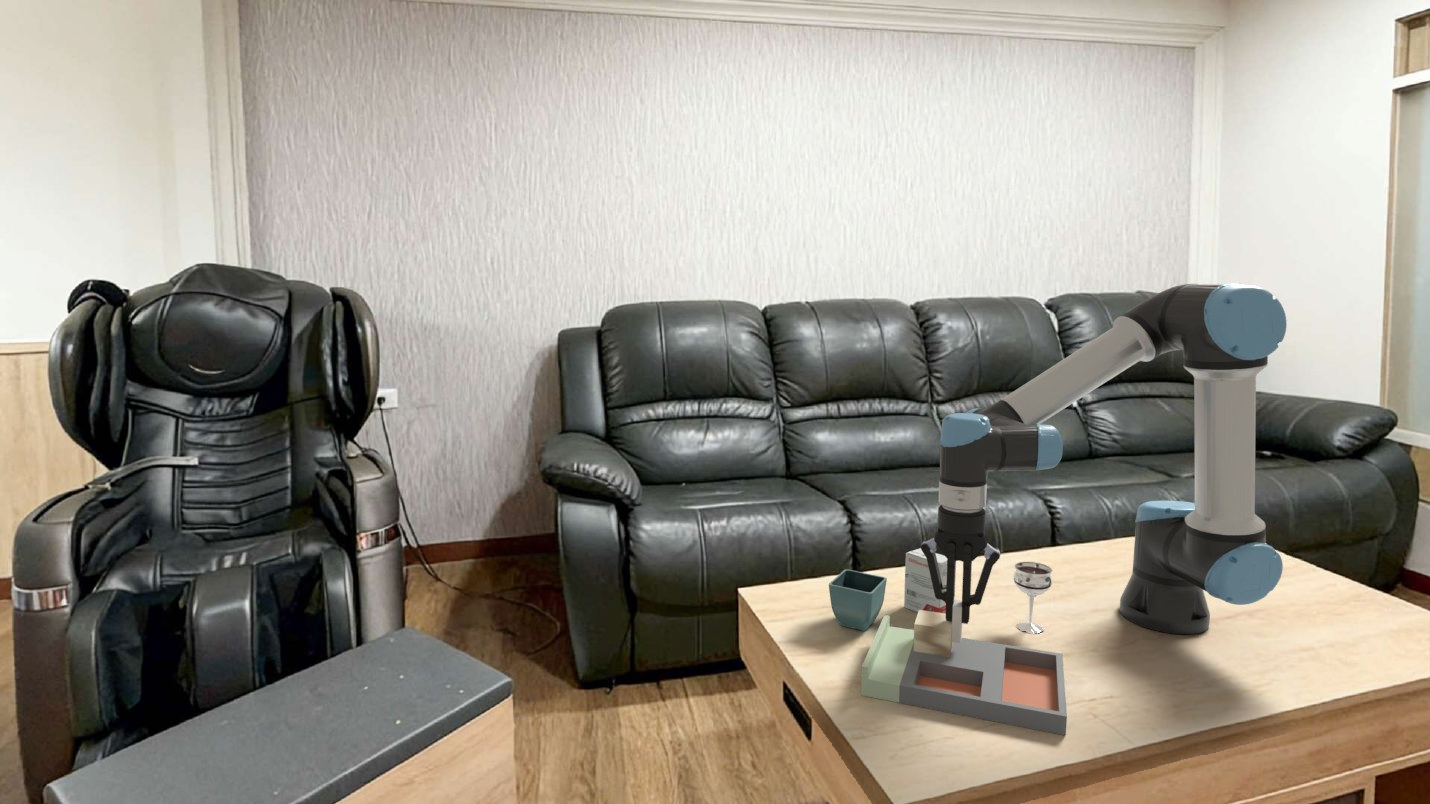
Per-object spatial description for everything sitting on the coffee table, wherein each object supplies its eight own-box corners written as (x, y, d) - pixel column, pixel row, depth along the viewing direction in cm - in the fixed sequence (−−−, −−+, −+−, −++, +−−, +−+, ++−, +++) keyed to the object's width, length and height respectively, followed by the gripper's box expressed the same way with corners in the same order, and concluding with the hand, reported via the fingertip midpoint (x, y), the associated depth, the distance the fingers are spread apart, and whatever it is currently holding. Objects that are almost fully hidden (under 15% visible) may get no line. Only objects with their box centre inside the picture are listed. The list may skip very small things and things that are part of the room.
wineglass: (1054, 627, 145) (1058, 567, 143) (1041, 639, 140) (1045, 578, 138) (1018, 616, 149) (1021, 558, 147) (1005, 628, 144) (1008, 569, 142)
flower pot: (870, 638, 141) (871, 593, 140) (827, 628, 146) (827, 583, 144) (886, 620, 148) (887, 577, 147) (844, 610, 153) (845, 568, 152)
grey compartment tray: (1061, 670, 129) (1063, 642, 128) (1065, 735, 111) (1067, 704, 110) (883, 640, 140) (884, 615, 139) (861, 695, 122) (861, 666, 121)
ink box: (953, 614, 151) (955, 557, 149) (939, 621, 148) (941, 563, 146) (917, 600, 157) (919, 546, 155) (903, 607, 154) (904, 552, 152)
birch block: (953, 641, 133) (954, 614, 132) (949, 657, 128) (950, 629, 127) (918, 636, 135) (919, 609, 135) (913, 651, 130) (914, 624, 129)
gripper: (918, 508, 125) (914, 642, 129) (1002, 517, 120) (996, 656, 124) (924, 496, 132) (920, 624, 136) (1004, 504, 127) (997, 636, 131)
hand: (956, 639), depth 130 cm, fingers closed
